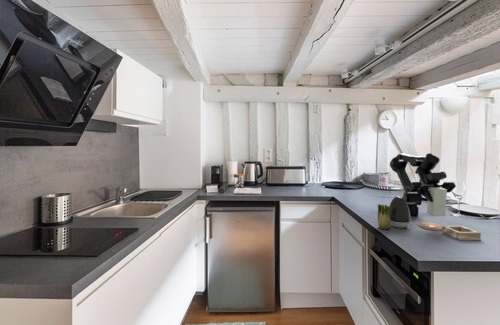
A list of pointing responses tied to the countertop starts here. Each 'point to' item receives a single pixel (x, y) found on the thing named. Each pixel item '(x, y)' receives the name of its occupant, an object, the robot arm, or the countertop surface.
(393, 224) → the grey smart speaker
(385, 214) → the green drip glaze vase
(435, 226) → the pad
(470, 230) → the square socket
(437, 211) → the square plug
